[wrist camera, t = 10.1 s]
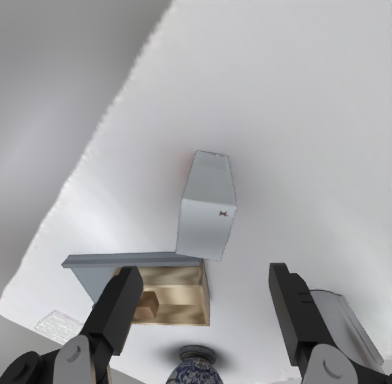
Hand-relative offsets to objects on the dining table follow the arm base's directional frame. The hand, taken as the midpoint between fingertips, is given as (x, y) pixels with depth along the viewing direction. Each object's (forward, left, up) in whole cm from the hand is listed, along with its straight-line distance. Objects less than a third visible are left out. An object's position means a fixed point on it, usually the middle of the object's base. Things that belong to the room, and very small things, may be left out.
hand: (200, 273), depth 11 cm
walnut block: (+15, +25, -14) cm, 32 cm away
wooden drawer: (+11, +22, -14) cm, 28 cm away
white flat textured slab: (+43, +46, -16) cm, 65 cm away
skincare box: (0, 0, -16) cm, 16 cm away
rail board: (+16, +22, -16) cm, 31 cm away
